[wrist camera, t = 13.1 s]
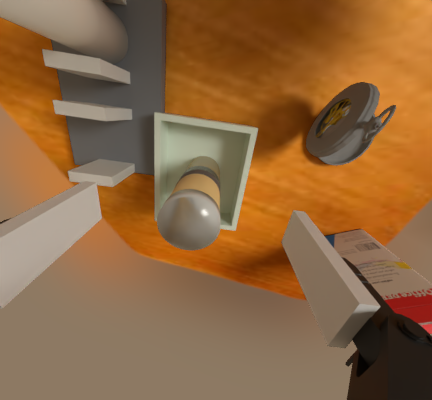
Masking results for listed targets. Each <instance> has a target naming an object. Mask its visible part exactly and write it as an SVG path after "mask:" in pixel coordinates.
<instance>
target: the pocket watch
mask: <svg viewBox="0 0 432 400" xmlns="http://www.w3.org/2000/svg"><path fill="white" fill-rule="evenodd" d="M379 96H380V93H379V91H378V89H377V87H376V86H374V85H373V84H370V83H365V82H360V83H356V84H353V85H351V86H349V87H347V88H346V89H344V90H343V91H342V92H340V93H339V94H338V95H337V96H335V97H334V98H333V99H332V100H331V101H330V102H329V103H328V104H327V105H326V107H325V108H324V109H323V110H322V111H321V113H320V114H319V115H318V117H317V118H316V120H315V121H314V123H313V125H312V126H311V129H310V131H309V133H308V136H307V140H306V148H307V150H308V151H309V152H310V153H311V154H312V155H314V156H315V157H318V158H319V159H320V160H321V161H323V162H324V163H327V164H330V165H343V164H346V163H349V162H352V161H353V160H355V159H357V158H358V157H360V156H361V155H362V154H363V153H364V152H365V151H366V150H367V149H368V147H369V146H370V144H371V143H372V141H373V139H374V137H375V136H376V135H377V134H378V133H379V132H380V131H381V130H382V129H383V127H384V126H385V125H386V124H387V123H388V122H389V120H390V119H391V117H392V116H393V114H394V112H395V109H396V105H392V106H390V107H389V108H387V109H386V110H384V111H383V112H382V113H381V114H380V115H379V116H377V117H375V115H374V112H375V109H376V107H377V105H378V101H379ZM390 110H391V111H390ZM388 111H390V113H389V115H388V117H387V118H386V119H385V121H384V122H383V124H382V123H381V118H382V117H383V116H384V115H385V114H386V113H387V112H388Z"/></svg>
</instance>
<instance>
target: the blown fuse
mask: <svg viewBox="0 0 432 400" xmlns="http://www.w3.org/2000/svg"><path fill="white" fill-rule="evenodd" d="M157 225H158V229H159V232H160V233H161V235H162V237H163V238H164V239H165V240H166V241H167V242H168V243H170V244H171V245H173V246H175V247H177V248H180V249H184V250H198V249H202V248H205V247H207V246H209V245H210V244H211V243H213V242H214V241H215V239H216V238H217V236H218V234H219V232H220V168H219V165H218V164H217V162H216V161H215V160H214V159H212V158H210V157H208V156H199V157H197V158H195V159H193V160H192V161H191V163H190V164H189V166H188V167H187V169H186V171H185V172H184V173H183V174H182V176H181V178H180V179H179V181H178V182H177V184H176V186H175V188H174V190H173V192H172V193H171V195H170V196H169V197H168V199H167V200H166V201H165V203H164V205H163V206H162V208H161V209H160V211H159V213H158V217H157Z"/></svg>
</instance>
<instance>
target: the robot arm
mask: <svg viewBox="0 0 432 400" xmlns="http://www.w3.org/2000/svg"><path fill="white" fill-rule="evenodd" d="M101 219H102V215H101V209H100V203H99V196H98V190H97V184H96V182H88V181H83V182H81V183H79V184H77V185H75V186H74V187H72V188H70V189H68V190H66V191H64V192H62V193H60V194H58V195H56V196H54V197H52V198H50V199H48V200H46V201H45V202H43V203H41V204H39V205H37V206H35V207H33V208H31V209H29V210H27V211H25V212H23V213H21V214H19V215H17V216H15V217H13V218H10V219H7V220H4V221H2V222H0V308H3V307H4V306H5V305H6V304H8V303H9V302H10V301H11V300H12V299H13V298H14V297H15V296H17V295H18V294H19V293H20V292H21V291H22V290H23V289H24V288H25V287H26V286H27V285H29V284H30V283H31V282H32V281H33V280H34V279H35V278H36V277H37V276H39V275H40V274H41V273H42V272H43V271H44V270H45V269H46V268H48V267H49V266H50V265H51V264H52V263H53V262H54V261H55V260H56V259H58V258H59V257H60V256H61V255H62V254H63V253H64V252H65V251H66V250H68V249H69V248H70V247H71V246H72V245H73V244H74V243H75V242H76V241H77V240H79V239H80V238H81V237H82V236H83V235H84V234H85V233H86V232H87V231H89V230H90V229H91V228H92V227H93V226H94V225H95V224H96V223H97V222H99V221H100V220H101ZM281 243H282V245H283V247H284V249H285V252H286V254H287V256H288V258H289V261H290V263H291V265H292V267H293V270H294V272H295V274H296V276H297V279H298V281H299V283H300V285H301V288H302V290H303V292H304V294H305V297H306V299H307V301H308V303H309V306H310V308H311V310H312V312H313V314H314V317H315V319H316V321H317V323H318V326H319V328H320V330H321V332H322V335H323V337H324V339H325V342H326V344H327V346H331V347H340V348H346V347H347V346H348V344H349V343H350V342H351V341H352V340H353V342H354V343H355V345H356V347H357V351H356V352H355V353H354V354H353V355H352V356H351V357H350V358H349V359H348V360H347V362H346V365H347V366H349V365H350V364H351V363H353V364H352V371H351V377H350V383H349V390H348V396H347V400H432V336H431V335H430V334H429V333H428V332H427V331H426V330H425V329H424V328H423V327H422V326H420V325H419V324H418V323H416V322H415V321H413V320H412V319H410V318H408V317H406V316H404V315H402V314H397V313H395V312H394V311H393V310H392V309H391V307H390V306H389V305H388V304H387V303H386V302H385V300H384V299H383V298H382V297H381V296H380V294H379V293H378V292H377V291H376V290H375V289H374V287H373V286H372V285H371V284H369V282H368V280H367V279H366V278H365V277H364V276H362V273H361V272H360V271H359V270H358V269H357V267H356V266H355V265H354V264H352V263H351V262H350V261H348V260H347V259H346V258H343V257H341V256H340V255H339V254H338V253H337V251H336V250H335V249H334V248H333V246H332V245H331V244H330V243H329V241H328V240H327V239H326V238H325V237H324V235H323V234H322V233H321V232H320V230H319V229H318V228H317V227H316V225H315V224H314V223H313V222H312V220H311V219H310V218H309V217H308V215H307V214H306V213H305V212H303V211H295V210H293V213H292V215H291V218H290V221H289V223H288V226H287V229H286V231H285V234H284V237H283V239H282V242H281Z"/></svg>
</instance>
